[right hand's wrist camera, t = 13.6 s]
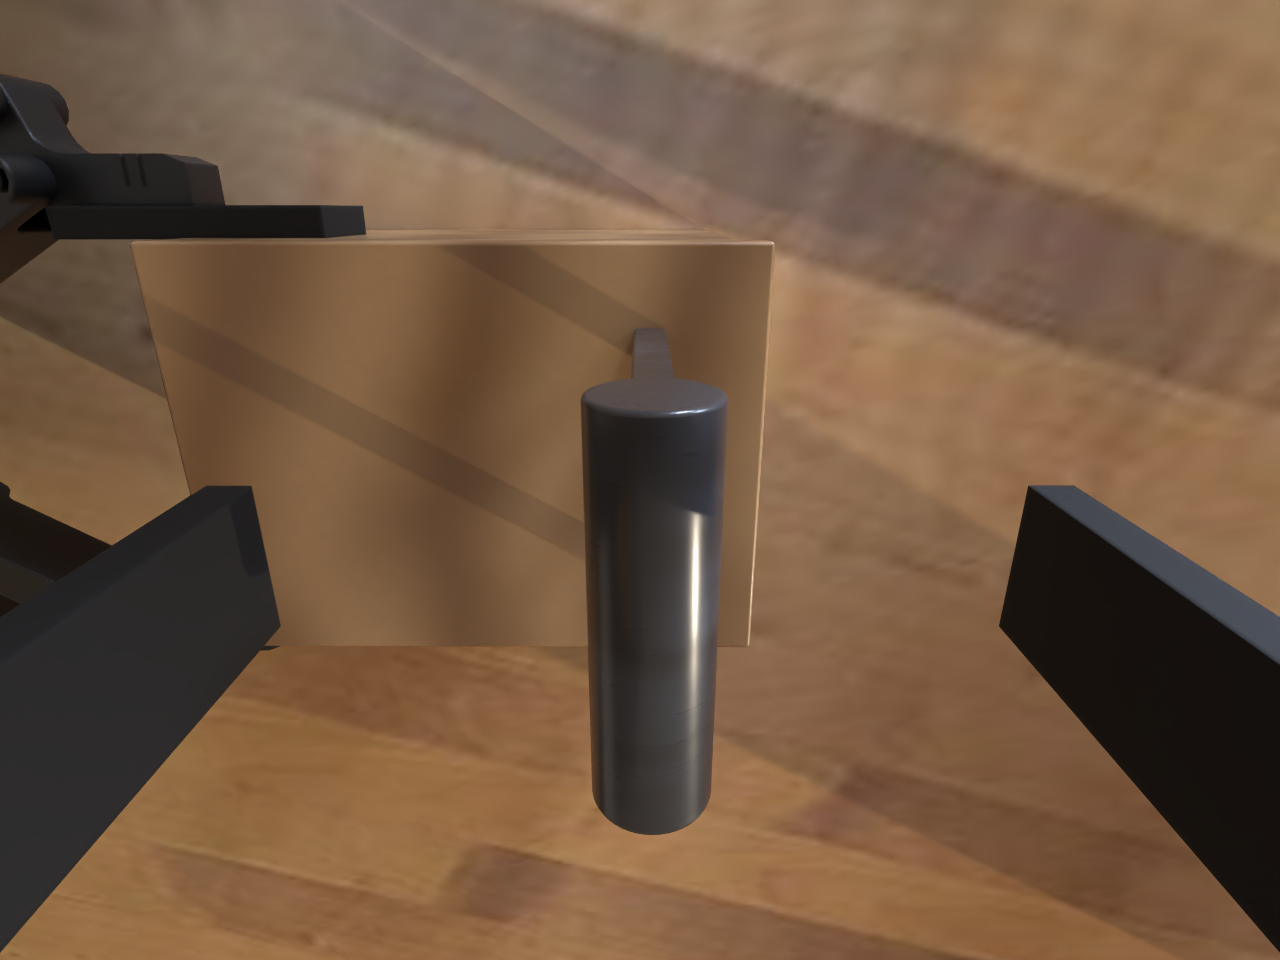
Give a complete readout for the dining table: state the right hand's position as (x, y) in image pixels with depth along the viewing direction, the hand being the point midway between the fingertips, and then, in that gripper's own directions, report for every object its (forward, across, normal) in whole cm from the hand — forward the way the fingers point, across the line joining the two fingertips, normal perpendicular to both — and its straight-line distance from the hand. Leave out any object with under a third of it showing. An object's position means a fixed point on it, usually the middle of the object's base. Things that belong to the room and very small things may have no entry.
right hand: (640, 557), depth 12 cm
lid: (+6, -4, 0) cm, 7 cm away
